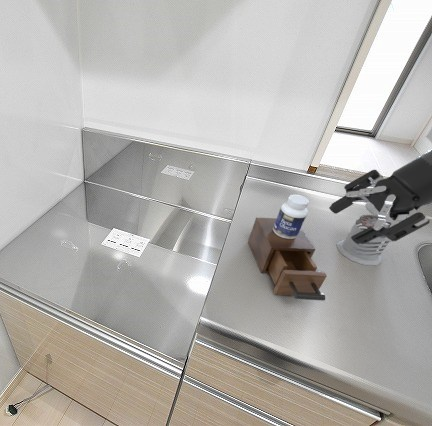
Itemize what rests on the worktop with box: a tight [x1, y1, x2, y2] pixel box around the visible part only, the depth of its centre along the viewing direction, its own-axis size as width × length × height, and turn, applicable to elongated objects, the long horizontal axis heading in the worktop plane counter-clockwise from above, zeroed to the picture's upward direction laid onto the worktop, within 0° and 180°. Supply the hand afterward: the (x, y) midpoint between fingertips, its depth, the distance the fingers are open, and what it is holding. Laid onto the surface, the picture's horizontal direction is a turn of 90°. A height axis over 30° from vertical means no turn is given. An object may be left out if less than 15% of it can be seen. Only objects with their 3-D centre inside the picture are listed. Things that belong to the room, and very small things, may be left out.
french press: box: [336, 202, 409, 266], centre depth 70 cm, size 10×12×25 cm
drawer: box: [267, 250, 328, 302], centre depth 66 cm, size 15×8×7 cm, turn 175°
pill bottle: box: [273, 194, 310, 239], centre depth 68 cm, size 5×5×10 cm
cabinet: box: [247, 217, 316, 275], centre depth 74 cm, size 12×10×9 cm
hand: (342, 225), depth 59 cm, fingers open, 8 cm apart
